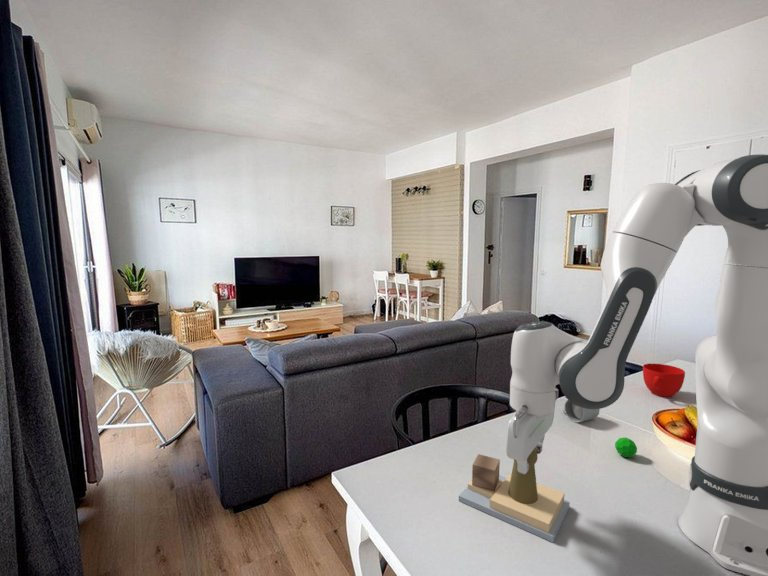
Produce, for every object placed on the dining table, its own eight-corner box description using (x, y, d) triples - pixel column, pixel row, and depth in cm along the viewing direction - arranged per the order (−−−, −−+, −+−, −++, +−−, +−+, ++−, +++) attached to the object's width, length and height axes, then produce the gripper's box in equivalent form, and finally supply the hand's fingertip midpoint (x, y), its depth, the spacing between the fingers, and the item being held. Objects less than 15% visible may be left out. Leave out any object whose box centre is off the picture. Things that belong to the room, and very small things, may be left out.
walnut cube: (499, 479, 91) (499, 459, 90) (494, 491, 86) (495, 470, 86) (477, 473, 93) (478, 454, 92) (472, 485, 88) (472, 464, 88)
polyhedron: (636, 454, 106) (637, 437, 105) (636, 462, 102) (637, 445, 101) (615, 449, 109) (616, 432, 108) (614, 457, 104) (615, 440, 104)
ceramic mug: (601, 421, 125) (602, 398, 125) (583, 426, 122) (584, 402, 121) (573, 409, 135) (573, 388, 134) (555, 413, 132) (556, 391, 131)
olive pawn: (540, 505, 81) (543, 455, 79) (510, 502, 82) (512, 453, 80) (534, 487, 87) (536, 440, 85) (506, 485, 88) (507, 438, 86)
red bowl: (633, 396, 146) (635, 370, 145) (646, 385, 157) (648, 361, 156) (675, 407, 136) (678, 379, 135) (686, 394, 148) (688, 368, 146)
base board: (569, 506, 85) (569, 493, 84) (552, 542, 75) (553, 528, 74) (482, 473, 97) (483, 462, 97) (458, 500, 87) (458, 488, 86)
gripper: (531, 420, 71) (529, 491, 73) (560, 387, 87) (558, 446, 89) (498, 412, 75) (497, 479, 76) (531, 382, 91) (530, 438, 92)
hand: (530, 461), depth 83 cm, fingers open, 8 cm apart
